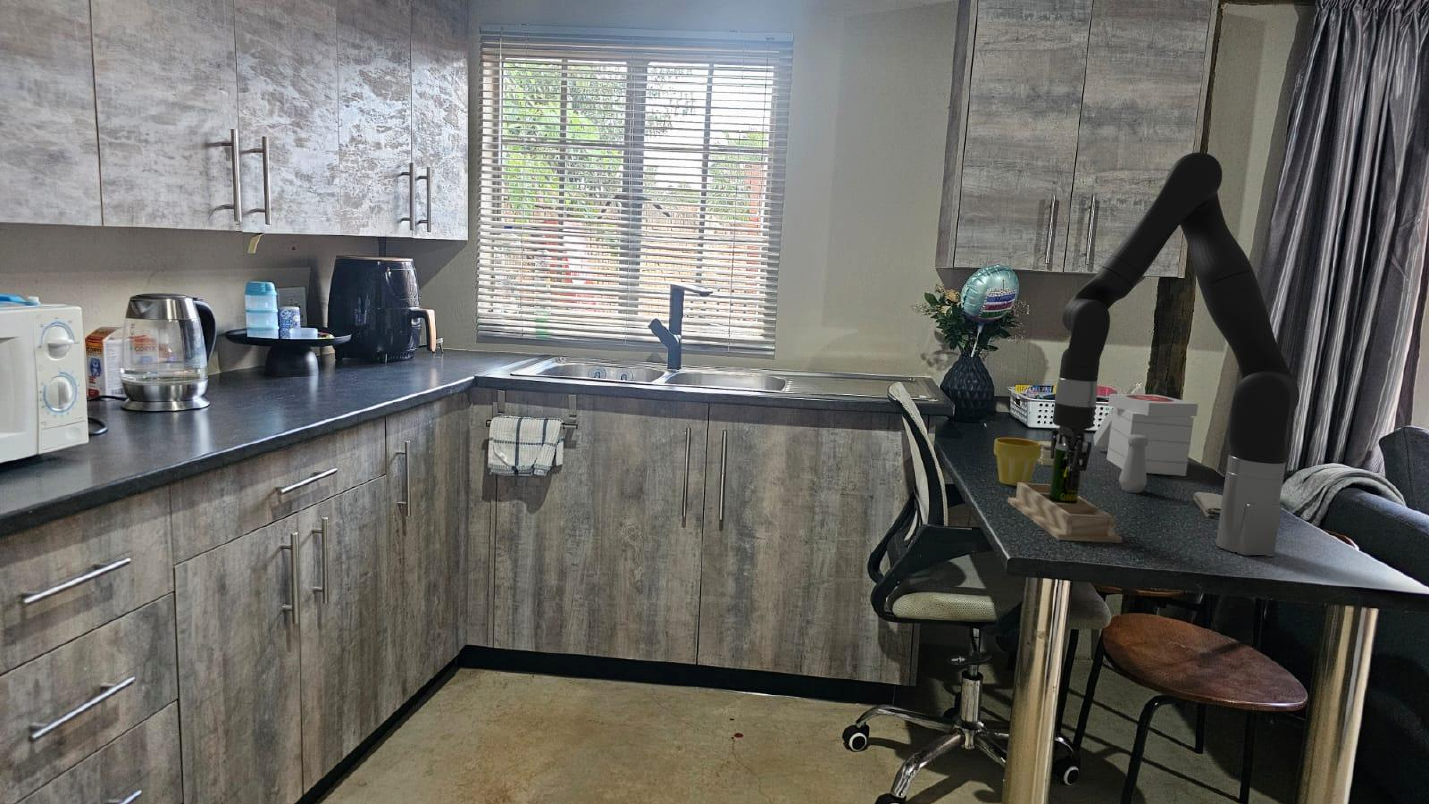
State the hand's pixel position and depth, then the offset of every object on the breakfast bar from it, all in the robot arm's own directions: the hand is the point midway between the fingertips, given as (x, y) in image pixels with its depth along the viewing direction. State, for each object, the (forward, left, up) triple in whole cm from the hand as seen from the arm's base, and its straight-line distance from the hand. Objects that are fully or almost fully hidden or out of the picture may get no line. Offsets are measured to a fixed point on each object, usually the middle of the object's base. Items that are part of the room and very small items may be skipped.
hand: (1064, 486), depth 193 cm
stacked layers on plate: (+57, -20, -8) cm, 61 cm away
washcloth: (+15, -43, -8) cm, 46 cm away
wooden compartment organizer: (0, 0, -7) cm, 7 cm away
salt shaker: (+30, -29, -7) cm, 42 cm away
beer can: (0, 0, -4) cm, 4 cm away
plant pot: (+32, -2, -7) cm, 33 cm away
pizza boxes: (+64, -47, -7) cm, 79 cm away
